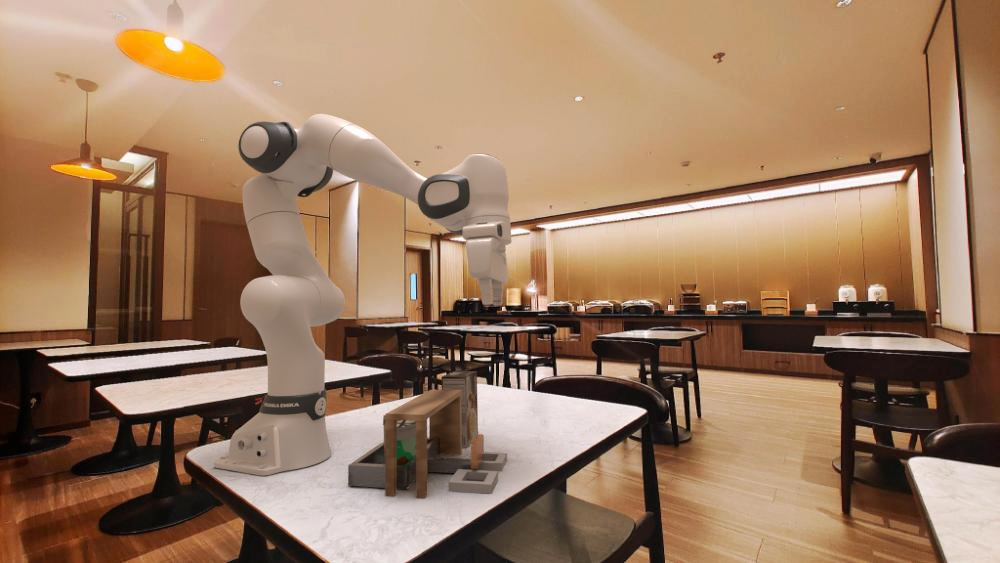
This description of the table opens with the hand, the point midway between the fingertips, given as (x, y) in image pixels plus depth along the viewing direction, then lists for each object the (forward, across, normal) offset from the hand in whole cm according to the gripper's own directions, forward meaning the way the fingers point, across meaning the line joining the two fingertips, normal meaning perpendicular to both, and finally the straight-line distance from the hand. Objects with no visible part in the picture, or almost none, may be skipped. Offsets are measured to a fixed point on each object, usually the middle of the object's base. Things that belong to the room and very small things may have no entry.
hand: (493, 305), depth 81 cm
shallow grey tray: (+31, +1, -15) cm, 34 cm away
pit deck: (+32, +1, -4) cm, 32 cm away
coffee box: (+32, -18, -13) cm, 39 cm away
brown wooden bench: (+31, +1, -14) cm, 34 cm away
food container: (+31, +2, -19) cm, 37 cm away
